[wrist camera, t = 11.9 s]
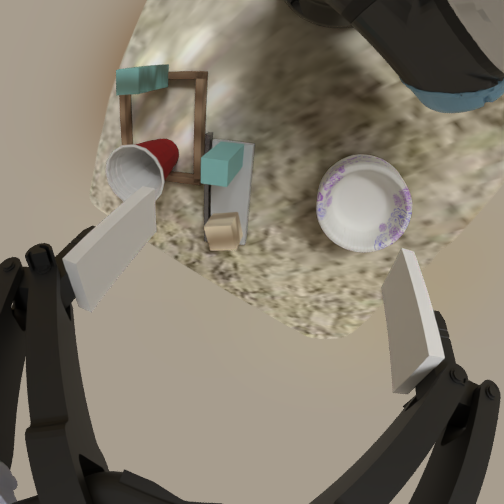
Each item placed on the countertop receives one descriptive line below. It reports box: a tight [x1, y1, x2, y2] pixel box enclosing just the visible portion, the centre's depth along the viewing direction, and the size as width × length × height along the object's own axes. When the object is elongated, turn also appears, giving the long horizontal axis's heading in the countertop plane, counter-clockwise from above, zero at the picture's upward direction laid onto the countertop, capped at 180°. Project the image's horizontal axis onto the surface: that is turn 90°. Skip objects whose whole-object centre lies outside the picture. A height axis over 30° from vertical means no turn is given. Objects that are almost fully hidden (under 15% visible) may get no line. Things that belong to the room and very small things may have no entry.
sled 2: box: [201, 139, 255, 245], centre depth 50 cm, size 20×7×10 cm, turn 176°
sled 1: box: [116, 64, 208, 185], centre depth 43 cm, size 22×16×11 cm
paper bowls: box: [316, 154, 412, 252], centre depth 45 cm, size 15×15×8 cm
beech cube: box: [204, 212, 243, 251], centre depth 54 cm, size 5×5×5 cm
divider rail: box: [204, 132, 213, 242], centre depth 54 cm, size 22×1×2 cm, turn 176°
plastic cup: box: [105, 139, 179, 201], centre depth 47 cm, size 11×11×12 cm
